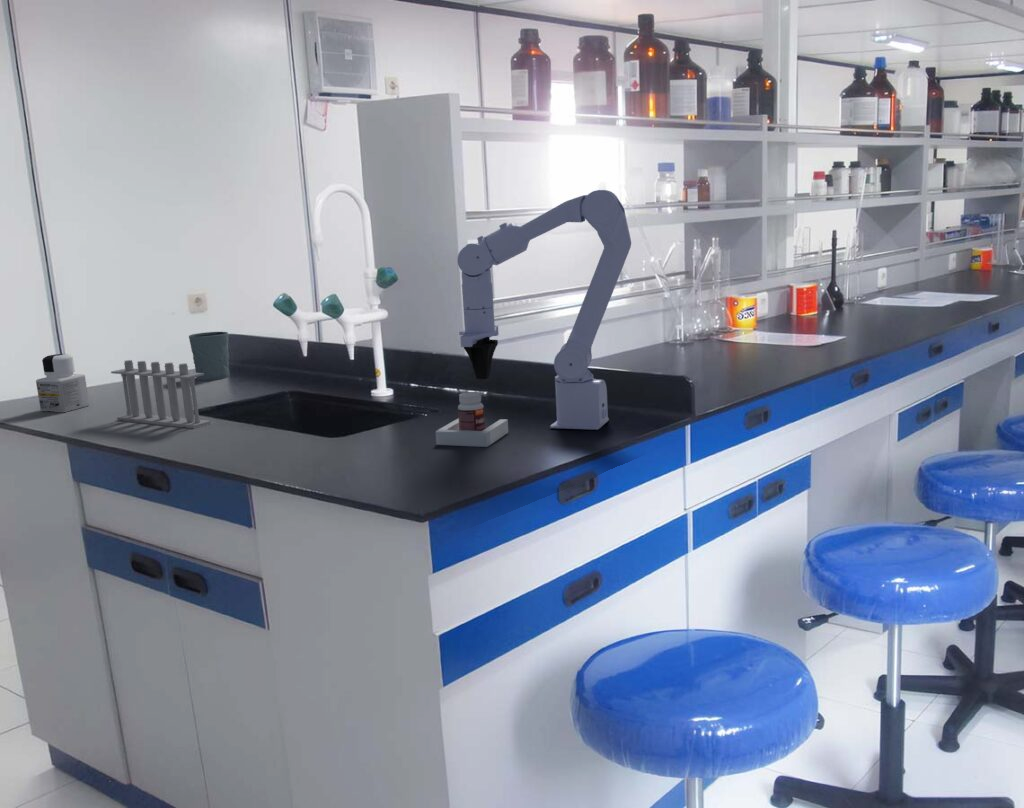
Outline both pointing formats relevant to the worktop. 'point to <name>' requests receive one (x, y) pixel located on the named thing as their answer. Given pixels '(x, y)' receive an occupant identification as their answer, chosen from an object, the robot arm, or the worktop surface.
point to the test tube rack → (160, 395)
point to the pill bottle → (471, 412)
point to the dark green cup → (210, 355)
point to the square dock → (471, 434)
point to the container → (61, 385)
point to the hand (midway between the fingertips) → (482, 378)
